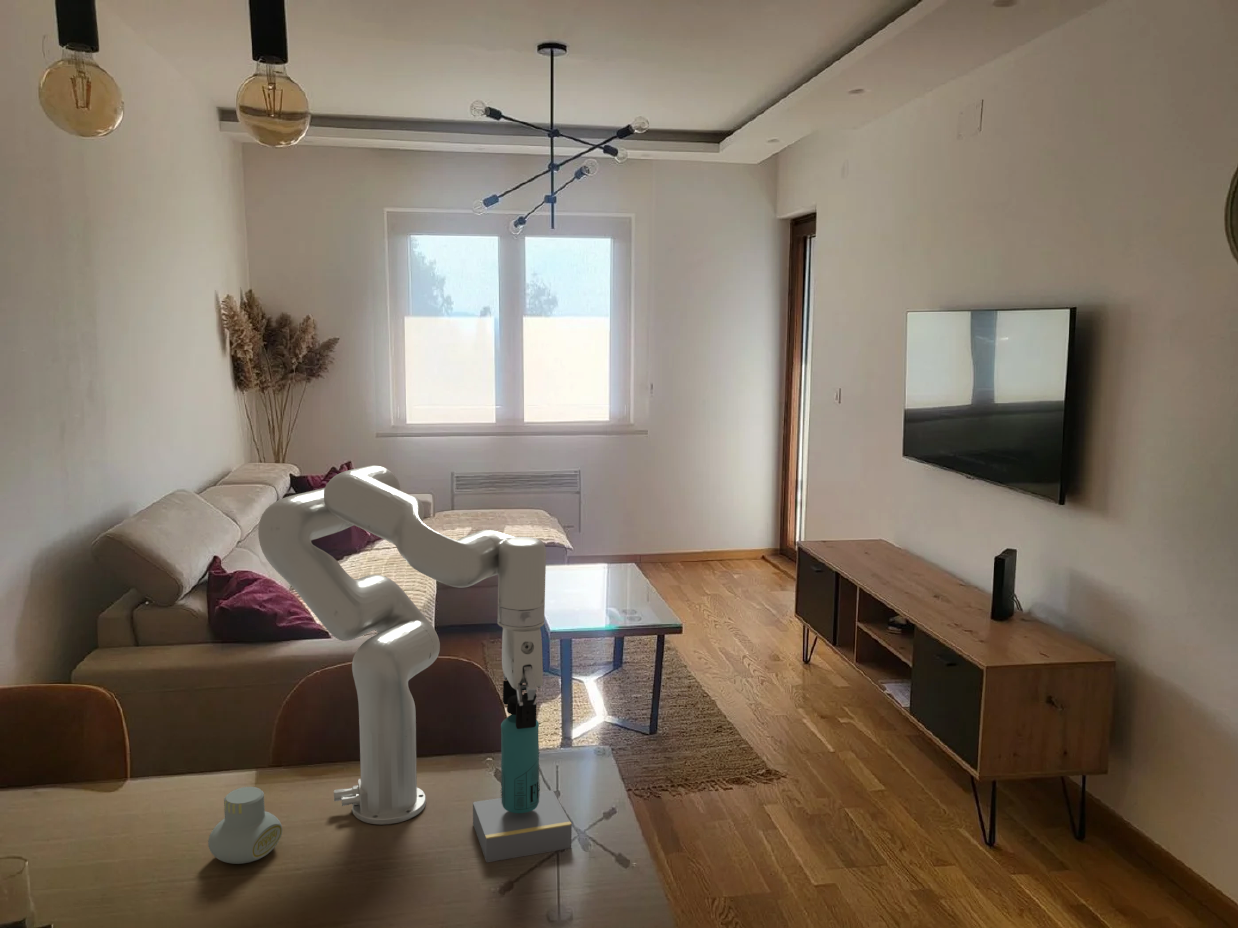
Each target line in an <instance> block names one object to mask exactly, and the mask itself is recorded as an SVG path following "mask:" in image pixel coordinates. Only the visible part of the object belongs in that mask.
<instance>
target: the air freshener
mask: <svg viewBox="0 0 1238 928" xmlns="http://www.w3.org/2000/svg"><path fill="white" fill-rule="evenodd" d="M223 801H224V802H223V804H224V805H223V806H224V807H223V808H224V809H223V811H224V818H222V820H220V821H219V822H218V823H217V824H216V825H215V826H214V828H213V829H212V831H211V833H210V834H209V837H208V840H207V841H208V848H209V851H210V853H211V854H212V855H213V856H214V858H216V859H218V860H219V861H221V862H224V863H227V864H232V865H234V864H237V865H241V864H248V863H252V862H255V861H258V860H260V859H262V858H263V857H265V856H267V855H268V854H269V853H271V852H272V851H273V850H274V849H275V847H276V846H277V844H278V843H279V841H280V839H281V837H282V835H283V827H282V823H281V821H280V820H279V819H278V817H277V816H275V814H273V813H272V812H269V811H266V810H265V809H266V808H265V807H266V806H265V793H264V791H263V790H262V789H261V788H259V787H255V786H243V787H239V788H237V789H236V788H235V789H234V790H231V791H230V792H229V793H227V794H226V796H224V798H223Z"/></svg>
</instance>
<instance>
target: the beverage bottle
mask: <svg viewBox="0 0 1238 928" xmlns="http://www.w3.org/2000/svg"><path fill="white" fill-rule="evenodd" d="M523 695H524V694H522V697H523ZM516 704H518V697H517V695H514V696H511V697H510V698H509V699H508V704H506V705H507V706H506V712H507V713H508V714H510V715H507V717H506V718H505V719H503V720H502V722H501V723H500V729H501V730H500V731H501V733H500V735H501V737H500V740H501V742H500V743H501V746H500V747H501V750H500V752H501V755H500V756H501V758H500V791H501V793H500V798H502V799H501V800H502V805H503V807H504V809H505V810H507V811H509V812H512V813H526V812H530V811H532V810H534V809H535V808H536V807H537V806H538V803H539V796H540V793H539V792H541V781H540V775H541V773H540V769H541V768H540V767H541V765H540V753H541V752H540V747H539V746H540V742H539V741H540V740H539V727H540V723H539V721H538V720H537V719H536V726H535V727H532V728H523V729H517V728H516Z"/></svg>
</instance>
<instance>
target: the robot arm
mask: <svg viewBox="0 0 1238 928" xmlns="http://www.w3.org/2000/svg"><path fill="white" fill-rule="evenodd" d="M424 517H425V506H424V504H423V502H422V500H420V499H419V498H418V497H417V496H416V497H415V496H414V495H411V494H409V493H407V492H404V491H401V485H400V482H399V479H398V478H397V477H396V475H395V474H394V473H393V471H391V470H389V468H386V467H384V466H380V465H366V466H362V467H358V468H353V469H349V470H345V471H342V472H340V473H338V474H335V475H334V476H333V477H332V478H330V480H329V481H328V482H327V484H325V487H322V488H318V489H315V490H314V489H313V490H310V491H309V490H308V491H306V492H302V493H297V494H293V495H289V496H286V497H283V498H280V499H278V500H277V501H275V502H273V503H271V504H270V505H269V506H268V507H267V508H266V509H265V510H264V511H263V513H262V514H261V516H260V519H259V523H258V530H257V531H258V534H257V535H258V543H259V545H260V549H261V552H262V553H263V555H264V557H265V559H266V560H267V562H268V564H270V566H271V567H272V568H273V570H274V571H276V573H278V574H279V575H280V576H281V577H282V578H283V579H284V580H285V581H286V582H287V583H288V584H289V585H290V586H291V587H292V588H293V590H295V592H296V593H297V594H298V596H299V597H300V598H301V599H302V601H303V602H304V603H305V605H306V606H307V607H308V608H309V609H310V610H311V612H312V613H313V615H314V616H316V618H317V620H319V622H320V623H321V624H322V625H323V626H324V627H325V629H326V630H327V631H328V633H330V634H331V636H333V637H334V638H335V639H337V640H339V641H342V642H343V641H345V642H346V641H353V640H355V639H358V638H360V637H363V636H365V635H367V634H369V633H370V632H372V631H374V630H375V631H376V632H377V634H375V635H372V636H371V637H369V638H368V639H366V640H365V641H364V642H362V644H360V646H359V647H358V648H357V650H356V651H355V653H354V655H353V658H352V664H351V670H352V676H353V680H354V685H355V689H356V694H357V701H358V702H357V703H358V704H357V705H358V718H359V719H358V721H359V722H358V723H359V724H358V725H359V759H360V764H359V765H360V778H358V780H357V784H355V785H352V787H349V788H338V789H334V790H333V802H340V801H341V806H342V807H344V806H350V805H351V808H352V809H351V810H352V814H353V815H354V817H355V818H357V820H360V821H362V822H364V823H366V824H372V825H391V824H393V825H394V824H398V823H401V822H405V821H408V820H410V819H413V818H414V817H416V816H417V815H419V814H420V813H421V812H422V811H423V810H424V808H425V807H426V806H427V805H426V804H427V796H426V794H425V792H424V791H423V790H422V789H421V788H419V787H418V786H417V784H418V783H417V723H416V722H417V719H416V717H417V715H416V705H415V701H414V700H415V699H414V698H413V695H412V693H411V691H410V688H409V681H410V680H411V679H412V678H414V677H415V676H416V675H418V674H419V673H421V672H423V671H425V670H426V669H427V668H429V667H430V666H431V665H433V664H434V662H435V661H436V660H437V658H438V656H439V653H440V650H441V649H440V648H441V643H440V639H439V636H438V634H437V631H436V630H435V627H433V625H432V624H431V622H430V621H429V620H428V618H427V617H426V616H425V615H424V614H423V613H422V612H421V610H420V609H419V607H418V606H417V605H416V604H415V603H414V601H412V599H411V598H410V597H409V595H407V593H406V592H405V591H404V590H403V589H402V588H401V586H400V585H398V583H396V582H395V581H393V580H392V579H391V578H389V577H387V576H386V575H385V576H384V575H382V574H368V575H365V576H362V577H360V578H356V579H355V578H353V577H352V576H351V575H350V574H349V573H347V571H346V570H345V569H344V567H342V565H341V564H340V563H339V561H338V560H337V559H336V558H334V556H332V555H331V554H329V553H328V552H326V551H325V550H323V549H321V548H319V547H317V546H316V545H314V544H313V542H312V541H314V540H317V539H320V538H323V537H326V536H330V535H334V534H336V533H339V532H342V531H344V530H347V529H348V528H351V527H353V526H355V527H357V528H359V529H362V530H364V531H365V532H368V533H370V534H372V535H374V536H376V537H379V538H381V539H382V540H385V541H387V542H389V543H391V544H393V545H394V546H395V547H396V549H397V551H398V553H399V554H400V556H402V558H403V560H404V561H406V563H407V564H408V565H409V566H410V567H412V568H413V569H414V570H415V571H416V572H419V573H420V574H423V575H424V576H427V577H429V578H431V579H432V580H435V581H437V582H439V583H441V584H444V585H446V586H450V587H453V588H459V589H460V588H468V587H471V586H473V585H476V584H478V583H480V582H482V581H483V580H485V579H488V578H491V577H494V576H498V577H497V578H498V579H497V581H498V582H497V583H498V584H497V625H498V626H499V627H500V628H502V638H501V643H502V644H501V667H502V672H503V680H502V684H503V685H502V686H503V687H502V703H503V704H504V705H508V699H509V698H510V697H511V696H514V695H517V697H518V704H516V728H517V729H523V728H532V727H535V726H536V720H537V704H538V703H537V702H538V701H537V693H536V692H537V688H538V689H540V688H542V686H543V683H544V682H543V681H544V677H543V675H544V673H543V670H544V669H543V644H542V643H543V641H542V632H541V627H543V626H544V624H545V607H546V605H545V603H546V571H547V570H546V567H547V566H546V565H547V562H546V561H547V547H546V545H545V543H544V542H543V541H542V540H541V539H539V538H535V537H531V536H514V535H510V534H507V533H504V532H502V531H501V532H500V531H498V530H493V529H482V530H479V531H476V532H473V533H471V534H468V535H465V536H464V537H461V538H460V537H459V539H454V538H452V537H450V536H447V535H444V534H443V533H440V532H438V531H437V530H434V529H433V528H431V527H430V526H428V525H426V524H425V523H424ZM523 691H525V692H524V694H523ZM522 695H523V697H522Z"/></svg>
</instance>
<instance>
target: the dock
mask: <svg viewBox="0 0 1238 928" xmlns="http://www.w3.org/2000/svg"><path fill="white" fill-rule="evenodd" d="M539 793H540V796H539V803H538V806H537V807H536V808H535V809H534V810H532V811H530V812H526V813H512V812H509V811H507V810H505V809H504V807H503V805H502V800H501V799H502V798H501V797H499V798H498V797H497V798H490V799H484V800H478V801H473V802H472V825H473V828H474V831H475V834H476V836H477V840H478V843H479V844H480V849H481V851H482V854H483V857H484V860H485V862H486V863H492V862H497V861H503V860H509V859H513V858H514V859H515V858H519V857H520V858H521V857H526V856H531V855H537V854H538V855H539V854H543V853H549V852H555V851H561V850H567V849H572V834H573V833H572V829H573V828H572V827H573V826H572V822H571V821H570V820H569V819H570V818H569V817H568V816H567V814H566V812H565V810H564V808H563V806H562V805H561V803H560V801H559V799H558V797H557V796H556V793H555V792H554V790H553V789H551V790H545V791H540V792H539Z"/></svg>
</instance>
